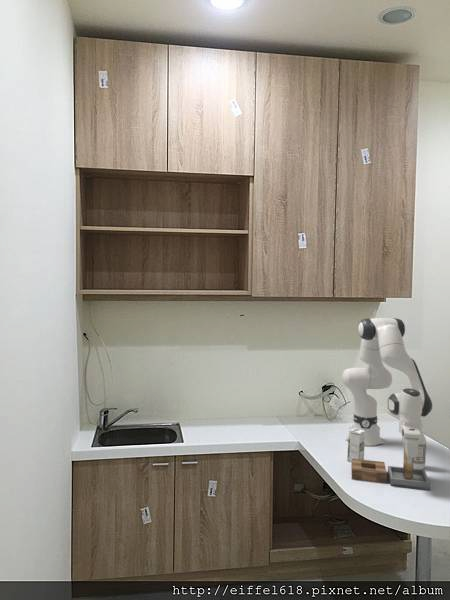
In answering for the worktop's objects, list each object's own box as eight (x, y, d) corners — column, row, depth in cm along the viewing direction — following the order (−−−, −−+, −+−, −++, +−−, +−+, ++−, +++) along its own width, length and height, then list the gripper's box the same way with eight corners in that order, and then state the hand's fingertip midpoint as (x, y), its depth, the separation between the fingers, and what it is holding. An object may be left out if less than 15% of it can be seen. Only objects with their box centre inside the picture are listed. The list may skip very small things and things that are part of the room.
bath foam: (427, 469, 224) (429, 425, 223) (412, 469, 224) (414, 425, 223) (420, 464, 231) (422, 421, 230) (406, 464, 231) (408, 421, 230)
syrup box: (352, 457, 237) (353, 427, 236) (364, 461, 233) (365, 430, 233) (347, 461, 232) (348, 430, 232) (359, 464, 229) (360, 432, 228)
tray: (387, 472, 219) (388, 465, 219) (424, 476, 216) (424, 469, 216) (390, 485, 205) (390, 478, 205) (429, 490, 201) (430, 483, 201)
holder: (351, 467, 224) (351, 458, 224) (383, 470, 221) (384, 462, 221) (351, 479, 211) (352, 469, 211) (386, 483, 208) (386, 473, 207)
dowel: (402, 474, 213) (403, 441, 212) (412, 475, 212) (413, 442, 211) (403, 477, 209) (404, 444, 208) (413, 478, 208) (414, 445, 207)
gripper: (399, 421, 220) (398, 452, 221) (404, 434, 201) (403, 468, 201) (414, 422, 219) (413, 453, 219) (421, 436, 199) (420, 470, 200)
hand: (408, 460), depth 210 cm, fingers closed on dowel, 4 cm apart
